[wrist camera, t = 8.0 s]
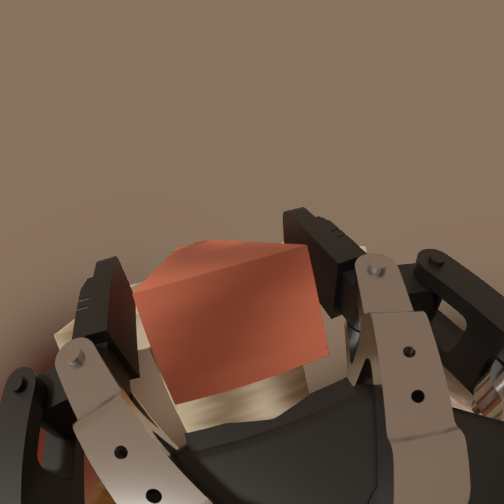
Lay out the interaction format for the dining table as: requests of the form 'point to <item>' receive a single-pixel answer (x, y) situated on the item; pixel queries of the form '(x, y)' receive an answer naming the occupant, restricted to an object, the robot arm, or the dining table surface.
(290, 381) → the beech pedestal
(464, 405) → the dining table surface
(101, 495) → the dining table surface
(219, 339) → the lacquered bar
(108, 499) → the dining table surface
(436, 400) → the robot arm
